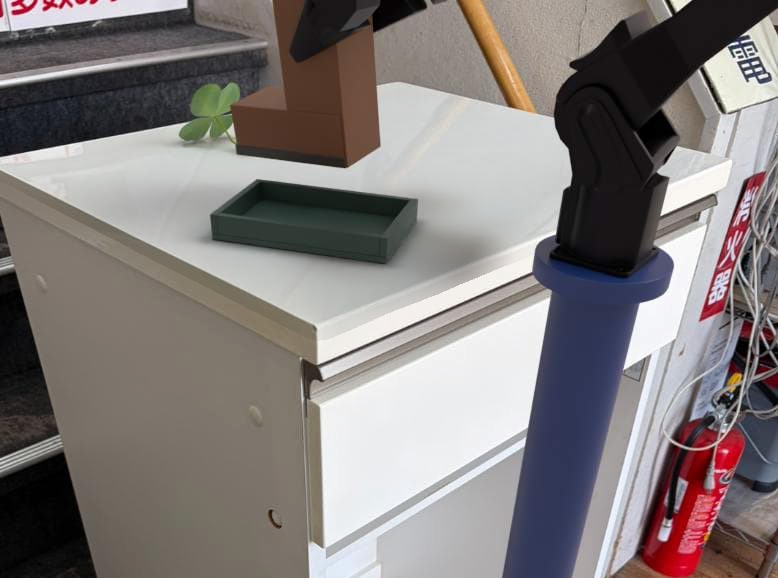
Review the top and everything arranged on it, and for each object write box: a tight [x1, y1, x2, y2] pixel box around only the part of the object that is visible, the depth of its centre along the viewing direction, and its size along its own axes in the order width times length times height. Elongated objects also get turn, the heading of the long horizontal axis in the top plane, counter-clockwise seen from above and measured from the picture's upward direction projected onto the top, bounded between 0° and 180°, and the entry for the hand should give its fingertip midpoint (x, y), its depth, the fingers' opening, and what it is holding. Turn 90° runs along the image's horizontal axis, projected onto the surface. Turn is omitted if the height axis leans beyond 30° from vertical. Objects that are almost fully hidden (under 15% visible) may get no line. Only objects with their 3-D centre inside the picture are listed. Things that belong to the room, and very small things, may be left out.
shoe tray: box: [209, 178, 419, 264], centre depth 69 cm, size 15×10×2 cm, turn 74°
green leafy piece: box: [178, 81, 241, 146], centre depth 86 cm, size 7×8×6 cm
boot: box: [230, 0, 382, 169], centre depth 67 cm, size 11×6×14 cm, turn 59°
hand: (313, 51), depth 66 cm, fingers closed on boot, 5 cm apart
